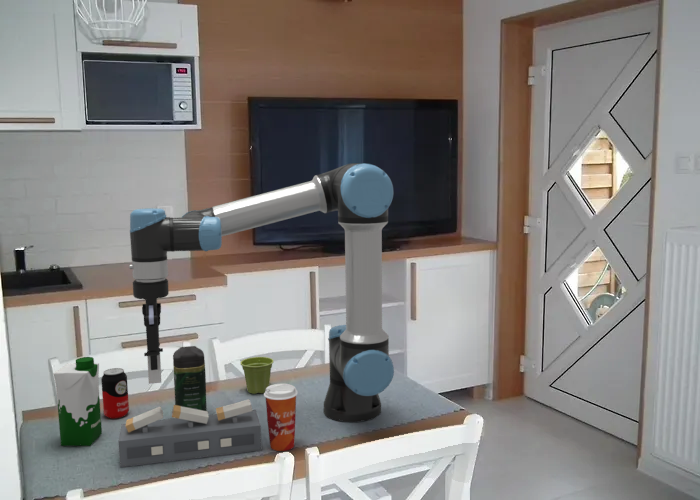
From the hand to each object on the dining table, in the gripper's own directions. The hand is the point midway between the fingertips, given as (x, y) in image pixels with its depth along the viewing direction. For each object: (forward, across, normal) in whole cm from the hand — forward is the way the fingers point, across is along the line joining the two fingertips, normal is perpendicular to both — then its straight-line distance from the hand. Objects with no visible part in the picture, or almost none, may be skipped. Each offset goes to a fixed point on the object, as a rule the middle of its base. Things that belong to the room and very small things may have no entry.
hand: (155, 382), depth 155 cm
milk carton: (+17, -13, -18) cm, 28 cm away
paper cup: (+17, +4, +28) cm, 33 cm away
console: (+17, 0, +8) cm, 18 cm away
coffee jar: (+17, -19, +8) cm, 27 cm away
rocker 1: (+9, 0, -3) cm, 9 cm away
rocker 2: (+8, 0, +7) cm, 11 cm away
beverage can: (+17, -27, -11) cm, 34 cm away
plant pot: (+17, -35, +27) cm, 47 cm away
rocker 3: (+8, 0, +17) cm, 19 cm away
